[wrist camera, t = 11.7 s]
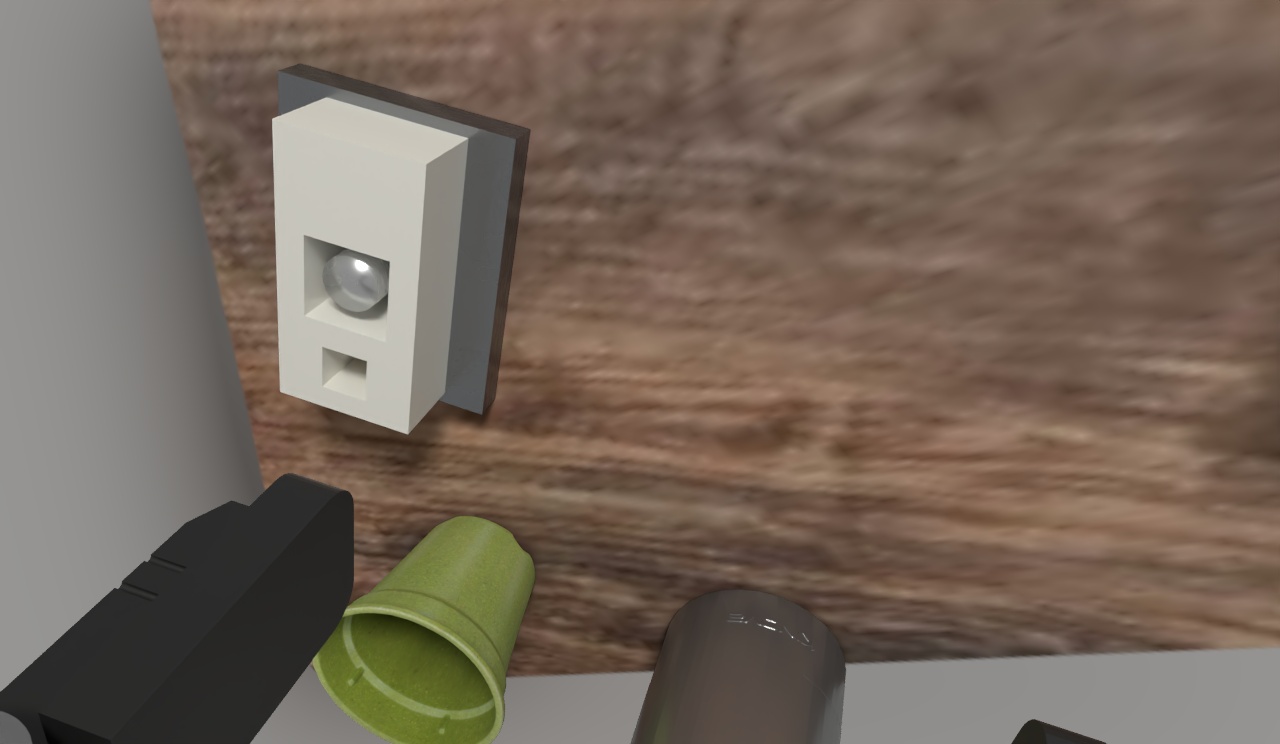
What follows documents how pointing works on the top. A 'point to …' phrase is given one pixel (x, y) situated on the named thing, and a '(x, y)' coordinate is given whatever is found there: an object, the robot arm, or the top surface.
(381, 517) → the top surface
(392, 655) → the plant pot
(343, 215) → the white block with recesses
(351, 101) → the base plate
